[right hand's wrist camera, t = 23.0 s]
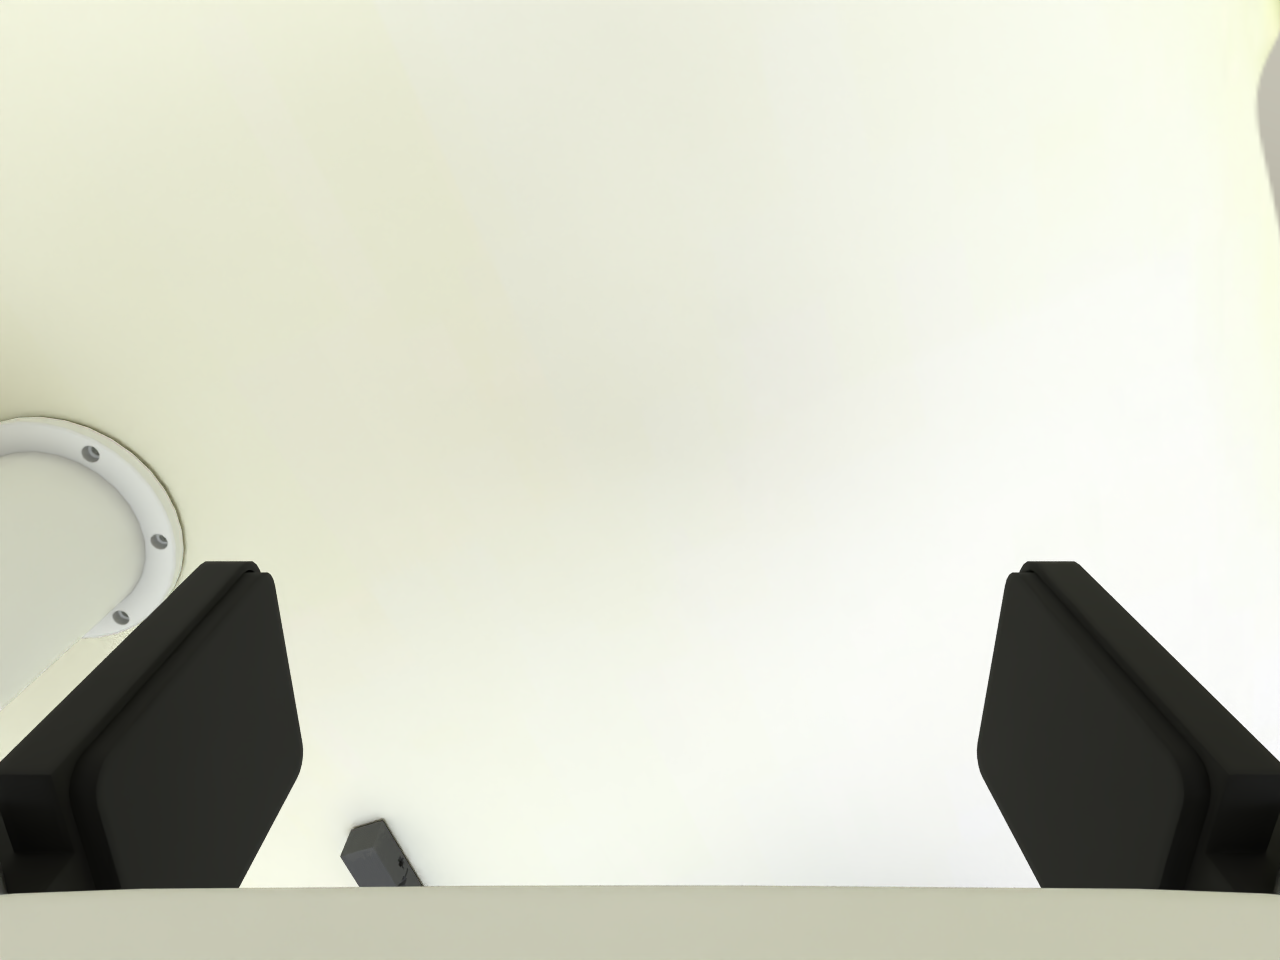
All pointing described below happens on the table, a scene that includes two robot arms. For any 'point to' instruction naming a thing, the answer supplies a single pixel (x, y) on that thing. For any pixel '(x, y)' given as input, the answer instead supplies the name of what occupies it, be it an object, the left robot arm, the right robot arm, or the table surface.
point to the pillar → (377, 858)
